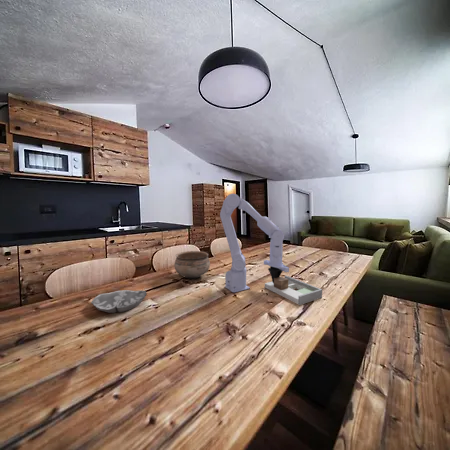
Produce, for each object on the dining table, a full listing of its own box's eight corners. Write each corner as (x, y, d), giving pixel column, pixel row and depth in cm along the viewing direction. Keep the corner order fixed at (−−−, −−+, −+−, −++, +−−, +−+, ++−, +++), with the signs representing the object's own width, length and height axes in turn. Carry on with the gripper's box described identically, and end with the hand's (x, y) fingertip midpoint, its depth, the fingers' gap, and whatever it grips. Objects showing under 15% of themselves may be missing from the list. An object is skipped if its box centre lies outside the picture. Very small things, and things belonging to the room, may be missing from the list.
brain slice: (84, 320, 75) (83, 312, 75) (98, 299, 91) (98, 292, 91) (144, 313, 80) (144, 305, 80) (148, 294, 96) (147, 287, 96)
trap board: (299, 305, 86) (300, 296, 86) (264, 287, 104) (264, 280, 103) (321, 297, 93) (322, 289, 93) (285, 282, 111) (285, 275, 110)
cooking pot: (220, 279, 114) (220, 256, 113) (187, 288, 102) (187, 262, 101) (196, 268, 134) (195, 248, 132) (166, 274, 122) (166, 252, 121)
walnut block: (281, 290, 96) (281, 281, 95) (273, 286, 99) (273, 278, 99) (288, 288, 98) (288, 279, 98) (280, 284, 102) (281, 276, 101)
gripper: (294, 256, 96) (293, 286, 98) (271, 250, 109) (270, 276, 110) (282, 258, 93) (281, 289, 94) (260, 252, 105) (260, 279, 106)
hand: (275, 283), depth 102 cm, fingers closed
